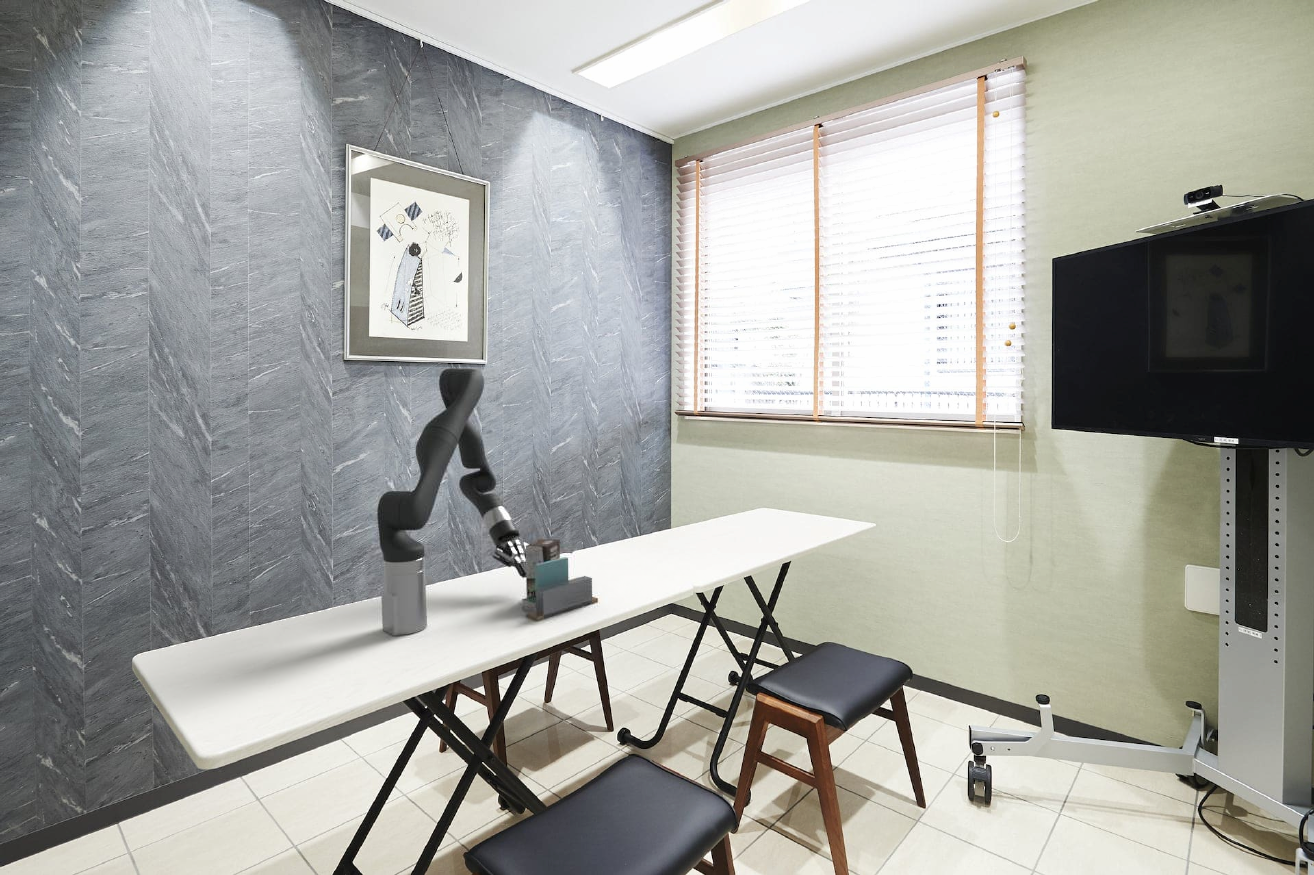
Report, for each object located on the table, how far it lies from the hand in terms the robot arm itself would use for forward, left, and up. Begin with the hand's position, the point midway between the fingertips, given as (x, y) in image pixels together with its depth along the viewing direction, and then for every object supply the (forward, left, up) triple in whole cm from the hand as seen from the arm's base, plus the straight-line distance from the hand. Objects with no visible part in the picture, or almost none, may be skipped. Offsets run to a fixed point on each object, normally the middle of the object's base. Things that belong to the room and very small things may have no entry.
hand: (526, 575), depth 180 cm
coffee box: (+1, -6, -6) cm, 9 cm away
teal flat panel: (-1, -12, -4) cm, 12 cm away
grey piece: (0, -13, -6) cm, 14 cm away
